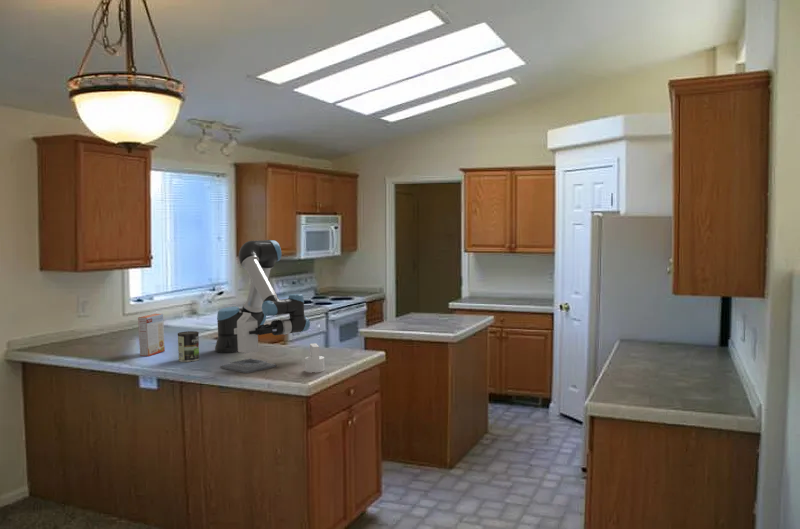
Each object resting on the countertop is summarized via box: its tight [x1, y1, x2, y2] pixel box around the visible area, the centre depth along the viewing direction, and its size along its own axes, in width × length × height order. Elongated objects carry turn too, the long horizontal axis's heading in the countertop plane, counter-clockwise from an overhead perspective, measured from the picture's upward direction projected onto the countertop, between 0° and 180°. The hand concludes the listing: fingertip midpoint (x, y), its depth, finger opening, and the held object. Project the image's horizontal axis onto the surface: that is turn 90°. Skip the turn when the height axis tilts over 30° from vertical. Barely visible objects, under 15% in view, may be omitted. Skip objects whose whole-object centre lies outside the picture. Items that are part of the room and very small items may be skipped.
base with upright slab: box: [304, 343, 325, 374], centre depth 312 cm, size 9×9×12 cm
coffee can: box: [177, 330, 200, 363], centre depth 340 cm, size 10×10×14 cm
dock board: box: [219, 362, 277, 374], centre depth 321 cm, size 20×18×1 cm
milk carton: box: [237, 312, 259, 354], centre depth 320 cm, size 7×7×19 cm
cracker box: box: [137, 313, 166, 357], centre depth 357 cm, size 14×6×21 cm, turn 163°
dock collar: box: [229, 358, 268, 369], centre depth 321 cm, size 12×12×2 cm
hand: (238, 332), depth 317 cm, fingers closed on milk carton, 8 cm apart
